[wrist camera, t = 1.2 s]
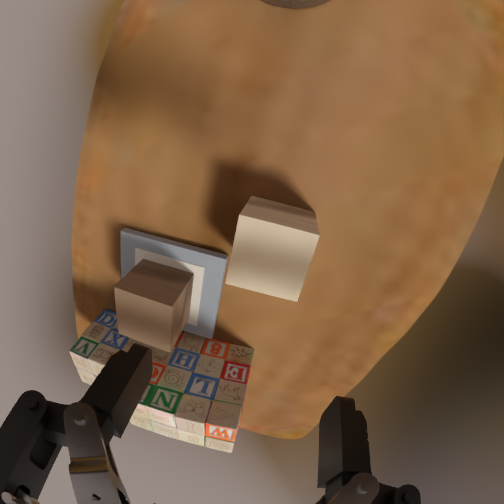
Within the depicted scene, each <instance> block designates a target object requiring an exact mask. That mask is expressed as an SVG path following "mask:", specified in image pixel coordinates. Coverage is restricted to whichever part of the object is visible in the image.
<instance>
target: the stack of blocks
mask: <svg viewBox="0 0 504 504" xmlns="http://www.w3.org/2000/svg"><path fill="white" fill-rule="evenodd" d="M134 343H138V344H140V345H143V346H146V347H148V348H151V349H152V364H153V372H152V377H151V380H150V382H149V384H148V386H147V388H146V390H145V392H144V393H143V395H142V397H141V399H140V401H139V403H138V405H137V407H136V409H135V411H134V413H133V415H132V417H131V419H130V423H131V424H133V425H136V426H139V427H141V428H144V429H147V430H150V431H153V432H156V433H158V434H161V435H164V436H168V437H171V438H175V439H179V440H182V441H186V442H189V443H193V444H197V445H200V446H206V447H208V448H212V449H216V450H221V451H225V452H232V449H233V445H234V441H235V437H236V432H237V431H238V427H239V422H240V418H241V414H242V409H243V404H244V398H245V393H246V387H247V382H248V377H249V372H250V367H251V362H252V357H253V352H254V349H253V348H248V347H244V346H239V345H235V344H230V343H228V342H223V341H219V340H215V339H209V338H205V337H202V336H199V335H194V334H190V333H187V332H181V334H180V335H179V337H178V339H177V341H176V343H175V345H174V347H173V349H172V351H171V352H167V351H164V350H161V349H159V348H156V347H153V346H150V345H148V344H145V343H142V342H140V341H137V340H134V339H132V338H129V337H127V336H124V335H122V334H119V332H118V324H117V315H116V312H112V311H109V310H106V309H104V310H103V311H102V312H101V314H100V315H99V316H98V317H97V318H96V319H95V320H94V322H92V323H91V324H90V326H89V327H88V328H87V329H86V330H85V331H84V333H83V334H82V336H81V337H80V338H79V339H78V341H77V342H76V343H75V344H74V346H73V347H72V348H71V349H70V354H71V357H72V359H73V361H74V364H75V366H76V368H77V370H78V373H79V375H80V377H81V380H82V381H83V382H85V383H87V384H89V385H92V383H93V382H94V380H95V379H96V377H97V376H98V374H99V373H100V371H101V370H102V368H103V367H104V366H105V364H106V363H107V361H108V360H109V358H110V357H111V356H112V355H113V354H115V353H116V352H118V351H120V350H123V351H125V352H128V351H129V349H130V348H131V346H132V345H133V344H134Z"/></svg>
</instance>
